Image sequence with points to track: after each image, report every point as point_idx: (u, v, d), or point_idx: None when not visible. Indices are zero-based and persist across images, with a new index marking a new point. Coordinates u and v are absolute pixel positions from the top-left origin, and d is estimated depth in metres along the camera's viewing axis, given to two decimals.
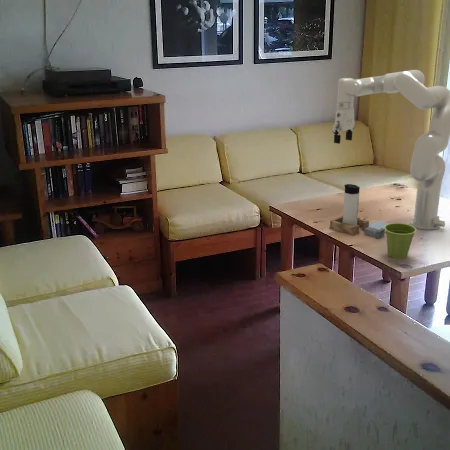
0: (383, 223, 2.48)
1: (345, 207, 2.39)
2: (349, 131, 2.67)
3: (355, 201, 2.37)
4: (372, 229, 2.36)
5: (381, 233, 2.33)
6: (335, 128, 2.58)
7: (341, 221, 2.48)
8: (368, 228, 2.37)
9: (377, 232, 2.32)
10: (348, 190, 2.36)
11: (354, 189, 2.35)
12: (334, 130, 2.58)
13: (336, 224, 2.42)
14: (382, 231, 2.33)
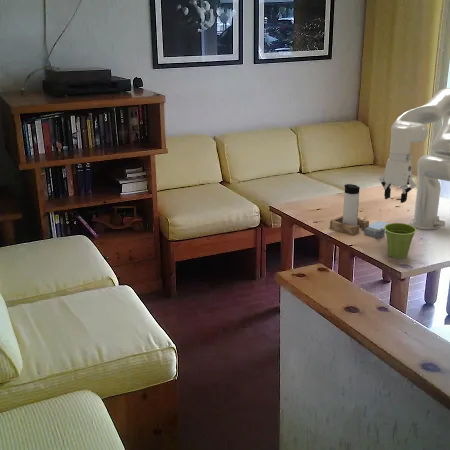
0: (383, 223, 2.48)
1: (345, 207, 2.39)
2: (389, 187, 2.25)
3: (355, 201, 2.37)
4: (372, 229, 2.36)
5: (381, 233, 2.33)
6: None
7: (341, 221, 2.48)
8: (368, 228, 2.37)
9: (377, 232, 2.32)
10: (348, 190, 2.36)
11: (354, 189, 2.35)
12: (412, 188, 2.18)
13: (336, 224, 2.42)
14: (382, 231, 2.33)
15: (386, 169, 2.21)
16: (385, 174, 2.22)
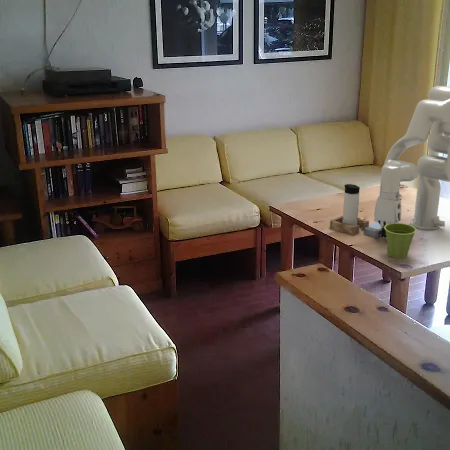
0: None
1: (345, 207, 2.39)
2: None
3: (355, 201, 2.37)
4: (371, 229, 2.36)
5: (380, 233, 2.33)
6: None
7: (341, 221, 2.48)
8: (367, 228, 2.37)
9: (376, 232, 2.32)
10: (348, 190, 2.36)
11: (354, 189, 2.35)
12: None
13: (336, 224, 2.42)
14: None
15: (376, 206, 2.29)
16: (375, 211, 2.30)
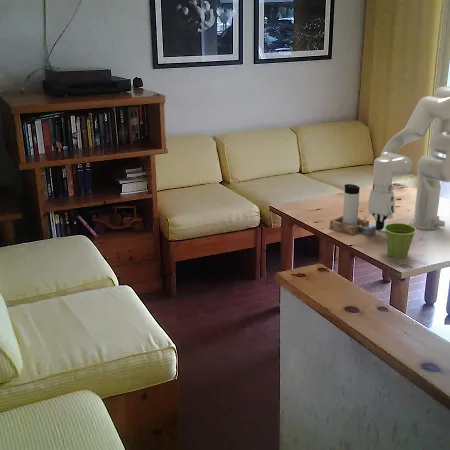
0: None
1: (345, 207, 2.39)
2: (380, 217, 2.33)
3: (355, 201, 2.37)
4: (364, 227, 2.38)
5: (373, 231, 2.36)
6: None
7: (341, 221, 2.48)
8: (360, 226, 2.40)
9: (369, 230, 2.35)
10: (348, 190, 2.36)
11: (354, 189, 2.35)
12: None
13: (336, 224, 2.42)
14: (374, 229, 2.36)
15: (370, 199, 2.31)
16: (369, 204, 2.32)
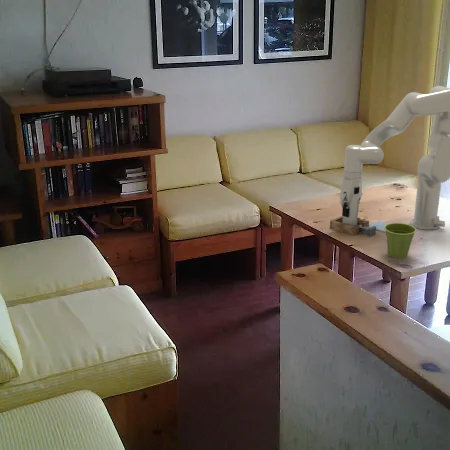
0: (383, 223, 2.48)
1: None
2: None
3: (355, 201, 2.37)
4: (364, 227, 2.38)
5: (373, 231, 2.36)
6: None
7: (341, 221, 2.48)
8: (360, 226, 2.40)
9: (369, 230, 2.35)
10: None
11: (354, 189, 2.35)
12: (359, 197, 2.45)
13: (336, 224, 2.42)
14: (374, 229, 2.36)
15: (351, 189, 2.34)
16: (350, 194, 2.34)
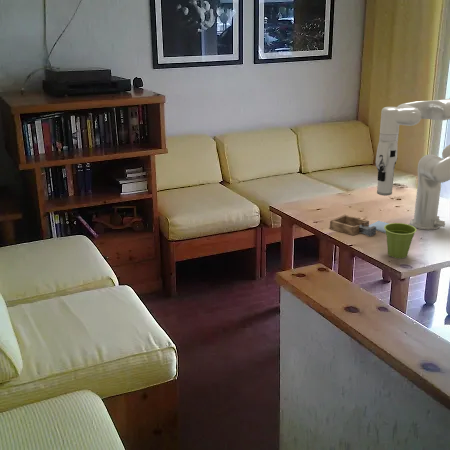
0: (383, 223, 2.48)
1: None
2: None
3: (391, 164, 2.32)
4: (364, 227, 2.38)
5: (373, 231, 2.36)
6: None
7: (341, 221, 2.48)
8: (360, 226, 2.40)
9: (369, 230, 2.35)
10: None
11: (390, 152, 2.30)
12: None
13: (336, 224, 2.42)
14: (374, 229, 2.36)
15: (387, 152, 2.29)
16: (386, 157, 2.29)
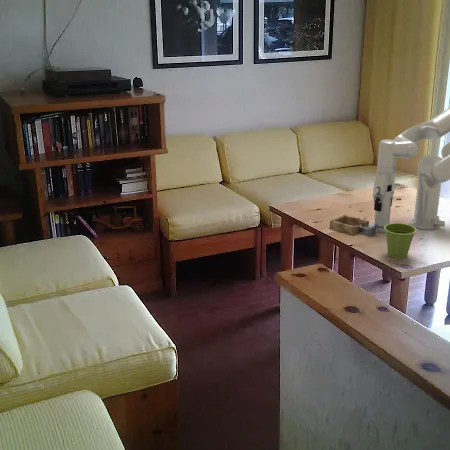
0: None
1: None
2: None
3: (388, 199, 2.37)
4: (364, 227, 2.38)
5: (373, 231, 2.36)
6: None
7: (341, 221, 2.48)
8: (360, 226, 2.40)
9: (369, 230, 2.35)
10: None
11: (387, 187, 2.35)
12: None
13: (336, 224, 2.42)
14: (374, 229, 2.36)
15: (384, 184, 2.34)
16: (384, 189, 2.34)
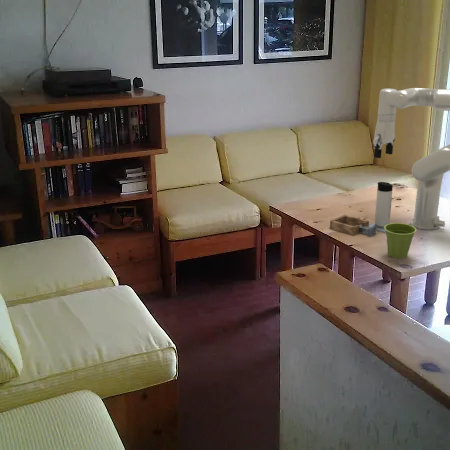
0: None
1: (378, 205, 2.40)
2: None
3: (388, 199, 2.37)
4: (364, 227, 2.38)
5: (373, 231, 2.36)
6: None
7: (341, 221, 2.48)
8: (360, 226, 2.40)
9: (369, 230, 2.35)
10: (381, 188, 2.36)
11: (388, 187, 2.35)
12: None
13: (336, 224, 2.42)
14: (374, 229, 2.36)
15: (385, 131, 2.42)
16: (384, 136, 2.43)
